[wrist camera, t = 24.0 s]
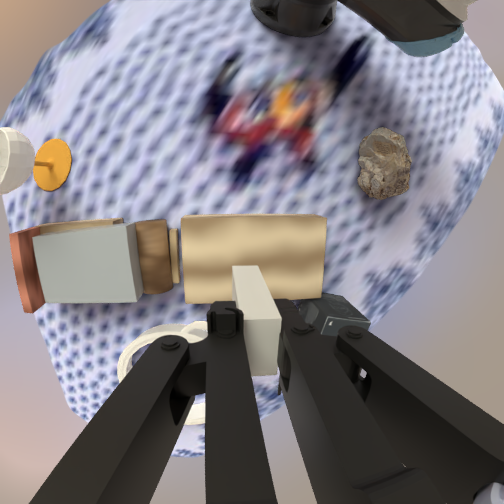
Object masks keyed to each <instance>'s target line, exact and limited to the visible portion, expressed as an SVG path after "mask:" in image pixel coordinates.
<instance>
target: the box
mask: <svg viewBox="0 0 504 504" xmlns="http://www.w3.org/2000/svg"><path fill="white" fill-rule="evenodd" d="M298 312H299V313H300V315H301V316H302V318H303V320H304V322H306V323H310V324H312V325H314V326H315V327H316V328H317V329H318V331H319V332H320V334H321V335H329V336H337V334H338V330H339V329H340V328H342V327H344V326H349V325H355V326H358V327H362V328H364V329H366V330H368V328H369V326H370V324H371V322H370V321H369V320H368V319H367V318H366V317H365V316H364V315H362V314H361V313H360V312H359V311H358V310H357V309H356V308H355V307H354V306H352V305H351V304H350V303H349V302H348V301H347V300H346V299H345V298H344V297H343V296H338V295H333V294H327V293H321V298H310V299H301V302H300V304H299V307H298Z"/></svg>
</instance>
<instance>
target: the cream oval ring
mask: <svg viewBox="0 0 504 504" xmlns="http://www.w3.org/2000/svg"><path fill="white" fill-rule="evenodd" d="M205 330H207V322H206V321H194V322H193V323H191V324H189V325H185V324H164V325H159V326H156V327H153V328H150V329H148V330H146V331H145V332H143V333H142V334H141V335H140V336H138V337H137V338H136V339H135V340H134V341H133V342H131V343H130V344H129V345H128V346H127V347H126V348H125V349H124V351H123V352H122V354H121V356H120V358H119V362H118V366H117V367H118V378H119V382H121V381H122V380H123V379H124V377H125V376H126V375H127V374H128V372H129V371H130V370H131V369H132V367H133V366H132V355H133V354H134V353H135V352H136V351H137V350H138V349H139V348H141V347H143V346H145V345H146V344H149V343H152V342H153V341H154V340H156V339H157V338H159V337H162V336H164V335H178V336H182V337H184V338H185V339H187V341H188V342H189V343H195V342H199V341H201V340H203V339H205V338H206V337H207V336H208V332H207V331H208V330H207V331H205ZM203 423H205V402H204V403H200V404H193V405H192V407H191V410H190V412H189V414H188V416H187V419H186V421H185V423H184V425H194V424H203Z"/></svg>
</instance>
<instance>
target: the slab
mask: <svg viewBox="0 0 504 504" xmlns="http://www.w3.org/2000/svg"><path fill="white" fill-rule="evenodd" d="M32 239H33V246H34V252H35V257H36V263H37V268H38V273H39V277H40V282H41V286H42V290H43V294H44V298H45V302H46V303H126V302H138V300H139V298H140V297H141V295H142V294H143V292H144V287H143V281H142V275H141V268H140V261H139V254H138V245H137V237H136V227H135V222H133V223H123V224H113V225H104V226H95V227H86V228H78V229H70V230H62V231H55V232H47V233H44V234H41V235H38V236H35V237H32Z"/></svg>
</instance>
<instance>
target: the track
mask: <svg viewBox="0 0 504 504" xmlns="http://www.w3.org/2000/svg"><path fill="white" fill-rule="evenodd" d="M113 224H123V218H111V219H95V220H82V221H69V222H57V223H46V224H42V225H38V226H35V227H31V228H28V229H25V230H21V231H18V232H15V233H12V234H9V236H10V244H11V252H12V258H13V264H14V270H15V275H16V280H17V285H18V289H19V293H20V298H21V301H22V305H23V309H24V312H26V313H34V312H35V311H36V310H38V309H39V308H40V307H41V306H42V305H44V304H45V303H46V302H45V298H44V294H43V290H42V286H41V282H40V277H39V273H38V268H37V263H36V257H35V252H34V246H33V239H32V237H35V236H38V235H41V234H44V233H47V232H55V231H62V230H70V229H78V228H86V227H95V226H104V225H113ZM326 225H327V218H325V217H322V216H318V215H315V214H209V215H185V216H183V217H182V218H181V240H182V260H183V276H184V289H185V302H186V304H201V303H214V302H215V301H232V266H255V265H258V267H259V269H260V272H261V274H262V276H263V278H264V280H265V283H266V285H267V287H268V289H269V291H270V294H271V296H272V298H273V299H284V298H287V299H288V300H295V299H310V298H321V293H322V282H323V271H324V258H325V243H326ZM169 237H170V255H171V269H172V282H173V283H179V282H180V265H179V248H178V229H170V230H169Z"/></svg>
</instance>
